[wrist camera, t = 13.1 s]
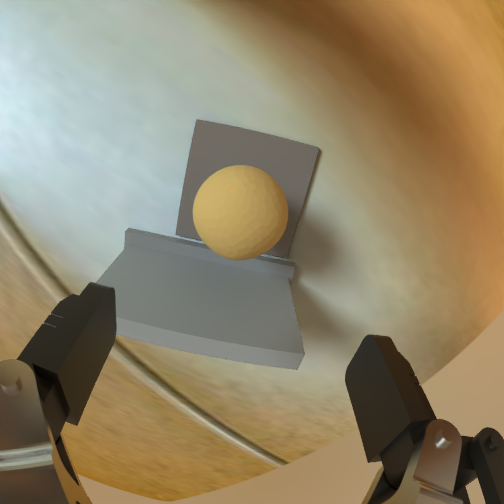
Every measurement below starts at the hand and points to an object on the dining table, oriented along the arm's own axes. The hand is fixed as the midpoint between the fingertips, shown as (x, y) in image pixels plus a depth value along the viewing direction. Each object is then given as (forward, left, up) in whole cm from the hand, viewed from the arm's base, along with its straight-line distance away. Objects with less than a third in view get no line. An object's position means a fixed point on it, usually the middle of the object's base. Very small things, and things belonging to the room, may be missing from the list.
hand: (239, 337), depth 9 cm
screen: (+8, -2, -20) cm, 22 cm away
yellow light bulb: (0, 0, -20) cm, 20 cm away
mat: (0, 0, -20) cm, 20 cm away
